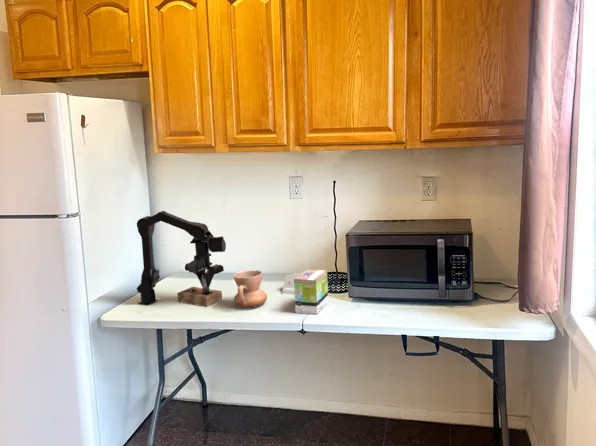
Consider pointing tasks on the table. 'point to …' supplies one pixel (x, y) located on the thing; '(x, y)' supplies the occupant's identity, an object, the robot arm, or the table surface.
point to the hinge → (289, 284)
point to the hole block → (199, 296)
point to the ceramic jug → (249, 289)
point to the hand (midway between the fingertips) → (205, 286)
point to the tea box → (311, 291)
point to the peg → (204, 285)
